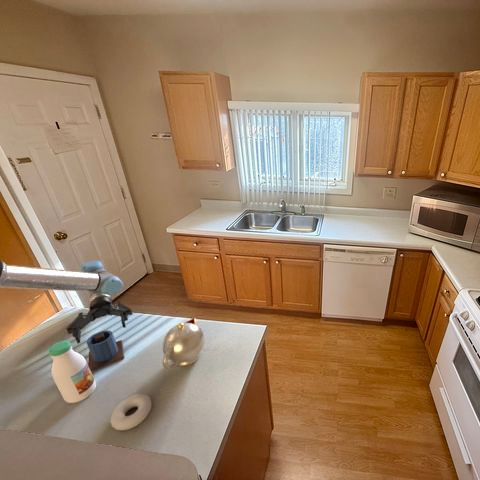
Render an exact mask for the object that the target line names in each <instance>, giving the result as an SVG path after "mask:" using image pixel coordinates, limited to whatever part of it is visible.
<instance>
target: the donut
mask: <svg viewBox="0 0 480 480" xmlns="http://www.w3.org/2000/svg"><path fill="white" fill-rule="evenodd" d="M134 408H137V410H136V411H135V412H134V413H132V414H129V415H126V414H127V413H128V412H129V411H130V410H131V409H134ZM151 409H152V400H151V398H150V396H148V395H146V394H141V393H139V394H134V395H132V396H129V397H127V398H126V399H124V400H122V401H121V402H120V403H119V404H117V406H116V407H115V408H114V410H113V411H112V414H111V415H110V425H111V427H112V428H113V429H114V430H115V431H122V432H123V431H128V430H130V429H133V428H135V427H136V426H138V425H139V424H141V423H142V422H143V421H144V420H146V418H147V416H148V415H149V414H150V411H151Z"/></svg>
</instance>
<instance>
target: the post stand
mask: <svg viewBox="0 0 480 480" xmlns="http://www.w3.org/2000/svg"><path fill="white" fill-rule="evenodd" d="M94 338H95V341H96V343H100V342H103V341H105V340H106V339H105V336H104V334H103V333H99V334H97V335H95V336H94ZM123 342H124V341H123V339H120V340H118V341H117V340H116V344H117V347H118V352H117V354H116V355H115V356H113V357H112V358H110V359H109V360H107V361H103V362H95V361H94V360H93V357H92V355H91V353H90V350H88V359H87V361H88V362H87V364H88V366H89V368H90V370H91V372H94V371H96V370H99V369H101V368H103V367H105V366H109V365H111V364H114V363H117V362H119V361H122V360H123V359H125V353H124V343H123Z"/></svg>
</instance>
